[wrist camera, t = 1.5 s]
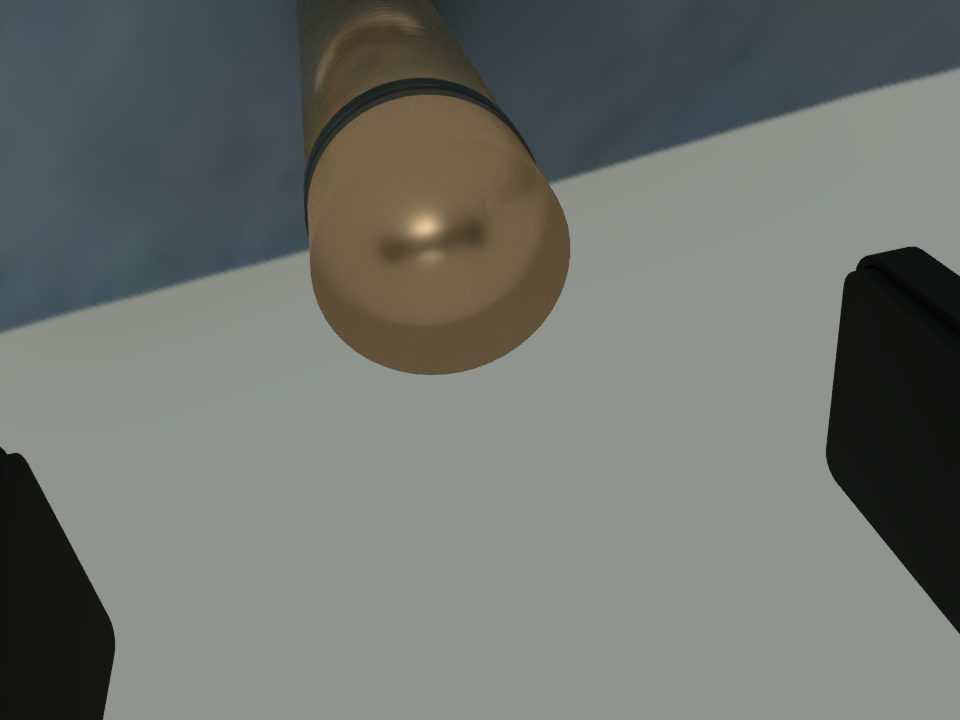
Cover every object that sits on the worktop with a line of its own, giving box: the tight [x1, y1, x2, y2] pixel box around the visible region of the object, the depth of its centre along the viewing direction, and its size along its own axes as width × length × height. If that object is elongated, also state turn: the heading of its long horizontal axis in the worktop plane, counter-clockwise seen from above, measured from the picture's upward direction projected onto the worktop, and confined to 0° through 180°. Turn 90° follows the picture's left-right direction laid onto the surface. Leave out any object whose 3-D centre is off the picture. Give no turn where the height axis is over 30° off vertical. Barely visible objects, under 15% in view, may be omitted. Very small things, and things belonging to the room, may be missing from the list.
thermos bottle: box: [297, 0, 570, 375], centre depth 21 cm, size 4×4×18 cm
